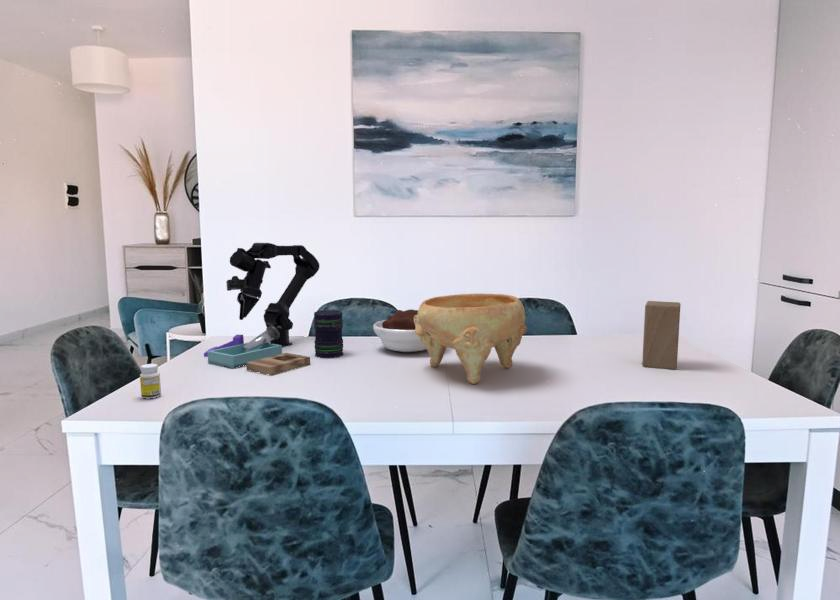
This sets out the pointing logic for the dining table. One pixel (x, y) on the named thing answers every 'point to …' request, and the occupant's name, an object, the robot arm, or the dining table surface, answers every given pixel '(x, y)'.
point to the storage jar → (328, 334)
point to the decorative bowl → (471, 328)
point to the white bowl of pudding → (399, 332)
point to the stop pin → (262, 339)
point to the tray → (241, 355)
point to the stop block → (278, 363)
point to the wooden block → (661, 334)
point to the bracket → (228, 344)
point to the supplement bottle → (150, 381)
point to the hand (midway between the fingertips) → (242, 318)
